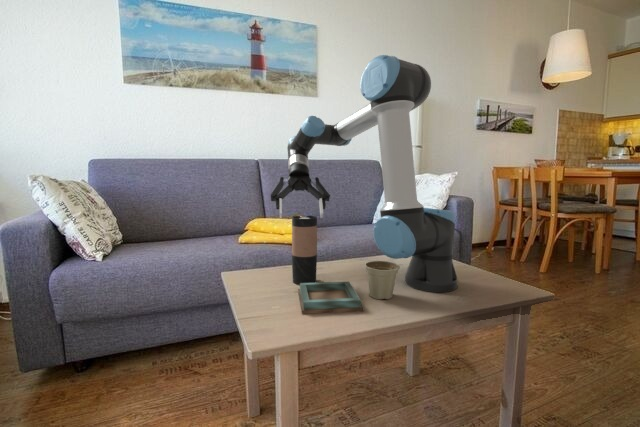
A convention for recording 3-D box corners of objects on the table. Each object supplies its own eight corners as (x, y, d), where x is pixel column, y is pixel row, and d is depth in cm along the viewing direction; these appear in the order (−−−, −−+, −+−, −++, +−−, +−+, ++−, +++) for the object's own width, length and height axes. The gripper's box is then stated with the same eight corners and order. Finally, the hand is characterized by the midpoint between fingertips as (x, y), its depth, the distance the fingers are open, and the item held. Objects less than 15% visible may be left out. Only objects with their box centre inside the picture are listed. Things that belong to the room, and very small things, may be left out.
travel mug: (306, 287, 99) (306, 219, 96) (286, 282, 103) (286, 217, 101) (321, 280, 105) (322, 216, 102) (302, 275, 109) (303, 214, 107)
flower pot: (398, 291, 96) (399, 261, 95) (398, 303, 87) (400, 271, 86) (365, 288, 98) (366, 259, 97) (362, 300, 89) (363, 268, 88)
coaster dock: (350, 289, 97) (350, 280, 97) (363, 311, 82) (363, 300, 82) (297, 291, 95) (297, 282, 95) (301, 313, 81) (301, 303, 80)
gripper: (331, 177, 129) (337, 222, 116) (264, 176, 126) (263, 223, 113) (333, 162, 123) (340, 208, 110) (264, 162, 120) (262, 209, 107)
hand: (301, 216), depth 111 cm, fingers open, 13 cm apart
